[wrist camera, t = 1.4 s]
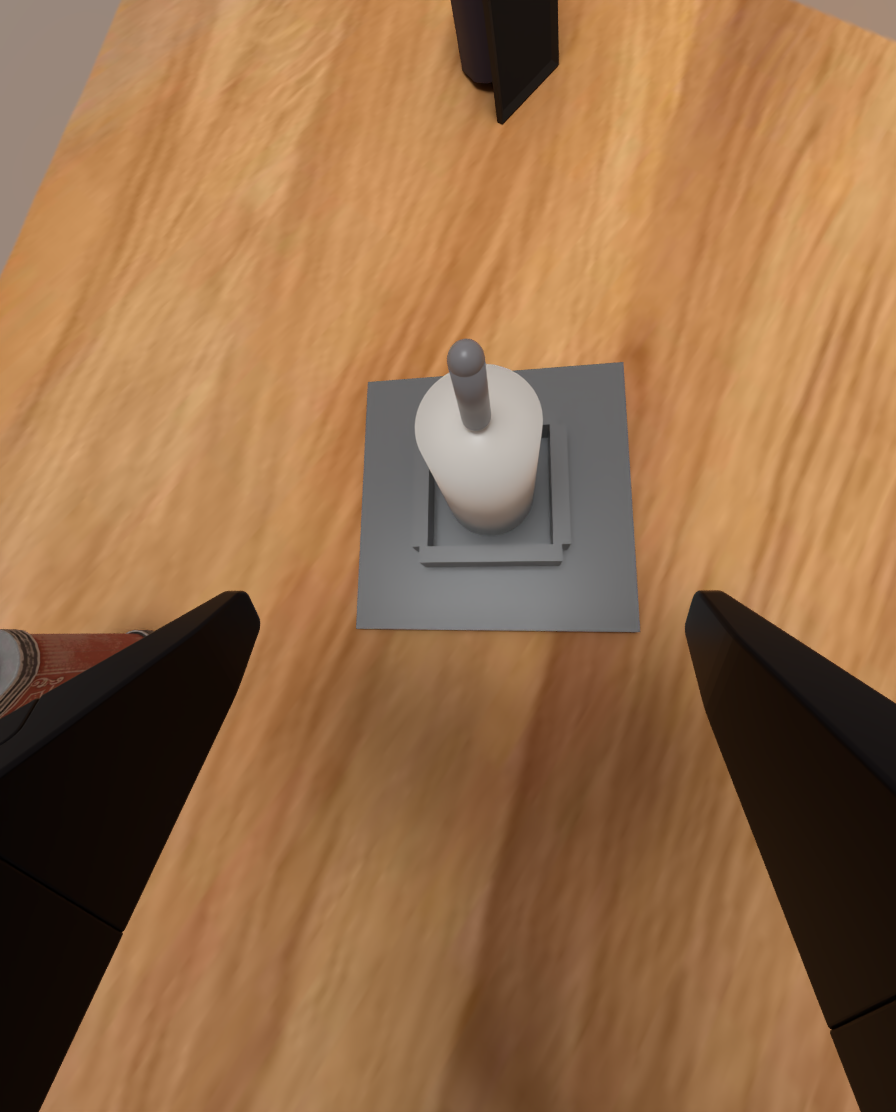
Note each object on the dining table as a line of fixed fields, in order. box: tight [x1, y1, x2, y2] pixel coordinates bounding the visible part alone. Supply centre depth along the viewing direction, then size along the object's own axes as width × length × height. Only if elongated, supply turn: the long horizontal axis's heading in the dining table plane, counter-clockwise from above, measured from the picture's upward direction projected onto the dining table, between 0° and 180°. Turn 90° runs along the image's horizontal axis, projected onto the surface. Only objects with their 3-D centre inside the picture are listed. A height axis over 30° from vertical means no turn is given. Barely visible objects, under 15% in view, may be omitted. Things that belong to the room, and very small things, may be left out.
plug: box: [415, 339, 543, 536], centre depth 17 cm, size 4×4×12 cm
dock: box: [356, 362, 640, 632], centre depth 22 cm, size 14×14×2 cm
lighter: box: [0, 629, 154, 718], centre depth 20 cm, size 8×3×10 cm, turn 127°
